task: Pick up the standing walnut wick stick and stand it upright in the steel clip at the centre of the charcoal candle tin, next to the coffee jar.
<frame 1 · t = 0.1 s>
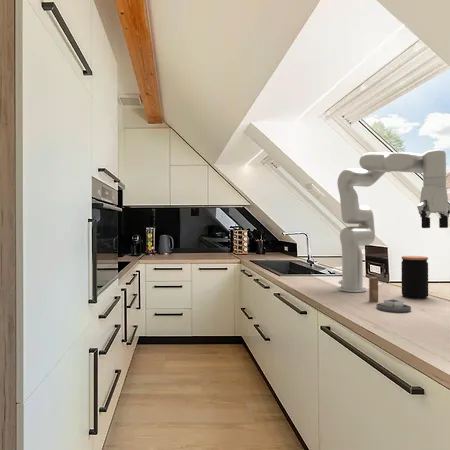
hand: (434, 227, 139), 31 cm above the countertop, tool pointing down, fingers open, 9 cm apart
candle tin: (393, 309, 140), on the countertop
wick: (373, 301, 155), on the countertop
coffee jar: (414, 297, 164), on the countertop
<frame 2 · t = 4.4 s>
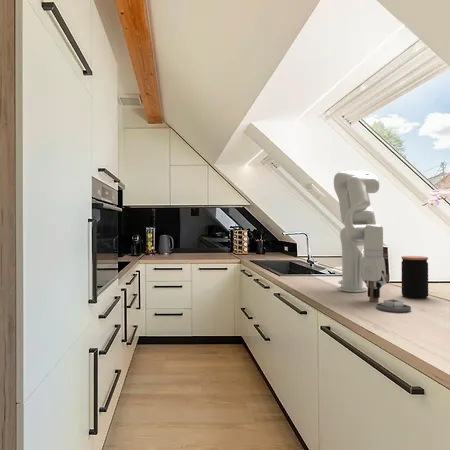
hand: (373, 297, 155), 2 cm above the countertop, tool pointing down, fingers closed on wick, 2 cm apart
wick: (373, 301, 155), on the countertop, touching gripper
everything else where it was.
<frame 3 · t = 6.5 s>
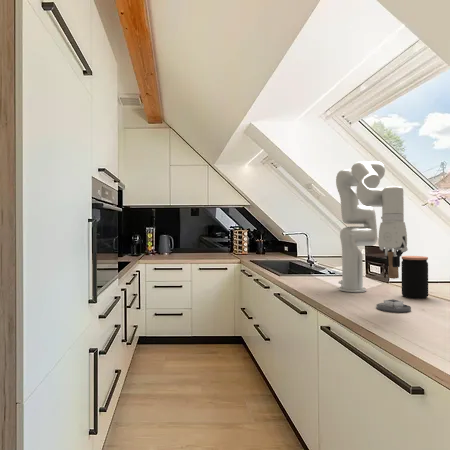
hand: (393, 266, 140), 16 cm above the countertop, tool pointing down, fingers closed on wick
wick: (393, 277, 140), point 12 cm above the countertop, touching gripper
everything else where it was.
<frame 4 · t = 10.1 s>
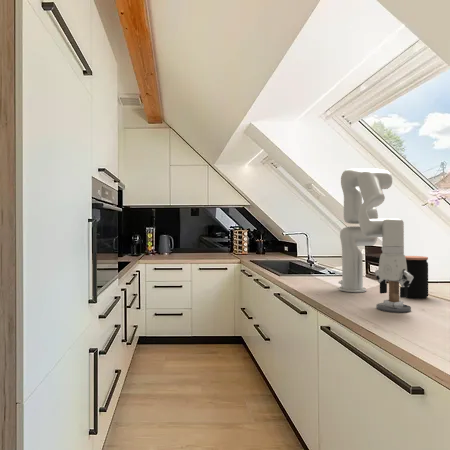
hand: (393, 295, 140), 5 cm above the countertop, tool pointing down, fingers open, 9 cm apart
wick: (394, 306, 140), point 1 cm above the countertop, touching candle tin
everything else where it was.
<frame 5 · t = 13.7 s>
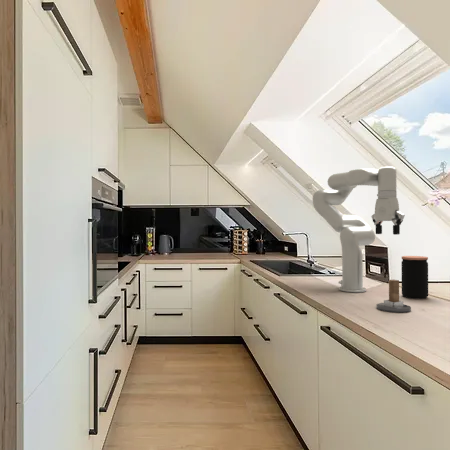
hand: (387, 234, 160), 28 cm above the countertop, tool pointing down, fingers open, 9 cm apart
nothing on the countertop moved.
at the end: wick 0.3 cm off-centre on the candle tin, point 1.2 cm above the candle tin's base; wick tilted 0°; the gripper is holding nothing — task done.
